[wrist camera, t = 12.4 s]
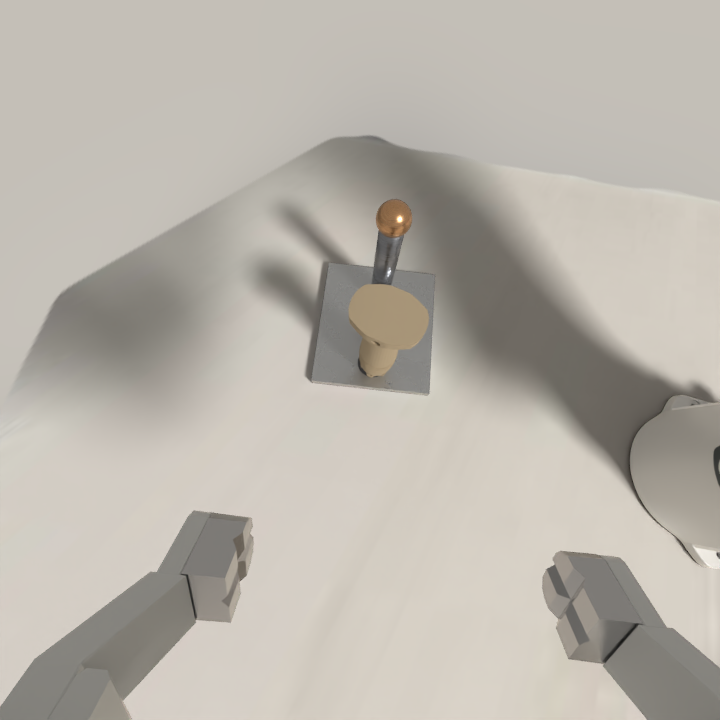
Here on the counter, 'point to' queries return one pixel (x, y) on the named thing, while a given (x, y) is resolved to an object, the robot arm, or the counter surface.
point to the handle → (385, 325)
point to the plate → (343, 341)
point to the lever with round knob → (390, 238)
